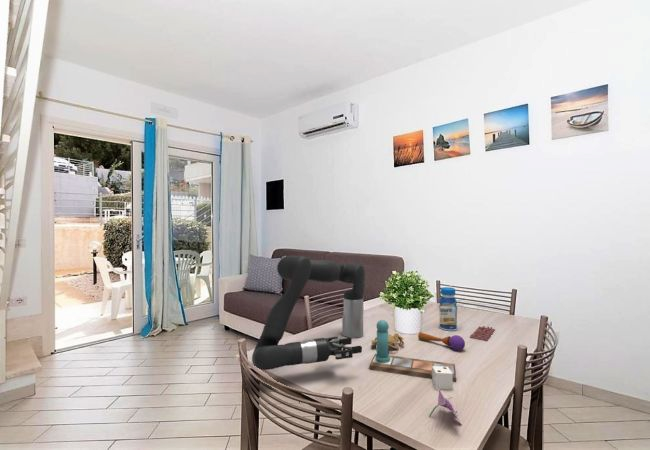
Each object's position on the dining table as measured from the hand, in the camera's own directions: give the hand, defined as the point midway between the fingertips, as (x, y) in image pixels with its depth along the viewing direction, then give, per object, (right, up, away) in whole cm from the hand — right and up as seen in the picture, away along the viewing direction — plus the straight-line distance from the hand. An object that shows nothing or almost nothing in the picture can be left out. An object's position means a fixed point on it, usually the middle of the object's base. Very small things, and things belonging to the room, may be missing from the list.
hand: (356, 344), depth 114 cm
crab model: (+15, -9, +21) cm, 28 cm away
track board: (+20, -9, 0) cm, 22 cm away
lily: (+21, -9, -29) cm, 37 cm away
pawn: (+10, -7, +4) cm, 13 cm away
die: (+26, -9, -12) cm, 30 cm away
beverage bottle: (+50, -9, +45) cm, 68 cm away
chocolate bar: (+64, -10, +37) cm, 74 cm away
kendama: (+39, -9, +23) cm, 46 cm away
